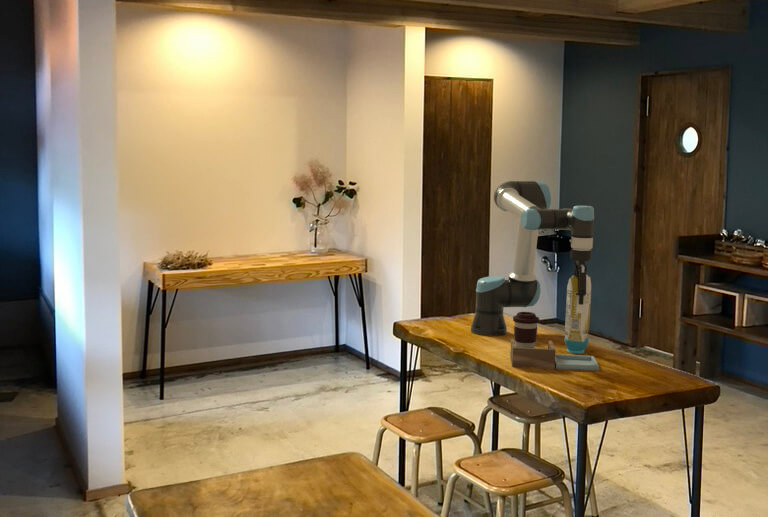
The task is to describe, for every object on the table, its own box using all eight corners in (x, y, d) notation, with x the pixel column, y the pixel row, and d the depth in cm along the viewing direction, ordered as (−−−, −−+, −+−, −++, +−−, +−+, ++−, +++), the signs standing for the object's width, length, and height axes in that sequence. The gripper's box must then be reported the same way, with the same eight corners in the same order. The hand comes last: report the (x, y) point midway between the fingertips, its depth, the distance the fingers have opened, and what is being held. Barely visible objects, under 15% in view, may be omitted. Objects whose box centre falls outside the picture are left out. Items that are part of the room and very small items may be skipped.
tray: (552, 359, 321) (552, 354, 321) (593, 361, 320) (593, 355, 319) (556, 369, 307) (556, 363, 307) (598, 371, 306) (599, 365, 306)
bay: (510, 356, 323) (511, 338, 322) (550, 358, 322) (551, 340, 321) (512, 367, 309) (513, 348, 308) (554, 369, 308) (555, 349, 307)
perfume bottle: (559, 350, 334) (561, 313, 332) (571, 347, 341) (573, 309, 339) (580, 355, 328) (582, 316, 326) (592, 351, 335) (594, 313, 333)
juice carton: (585, 343, 306) (589, 276, 303) (563, 340, 309) (566, 274, 306) (589, 337, 315) (592, 272, 312) (567, 335, 318) (570, 271, 314)
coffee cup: (537, 355, 326) (539, 316, 324) (510, 353, 328) (512, 315, 326) (537, 349, 336) (539, 311, 334) (512, 347, 338) (514, 310, 336)
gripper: (567, 244, 319) (564, 303, 322) (574, 252, 297) (571, 316, 300) (587, 245, 318) (584, 304, 321) (596, 253, 296) (593, 316, 299)
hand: (578, 310), depth 311 cm, fingers closed on juice carton, 10 cm apart
